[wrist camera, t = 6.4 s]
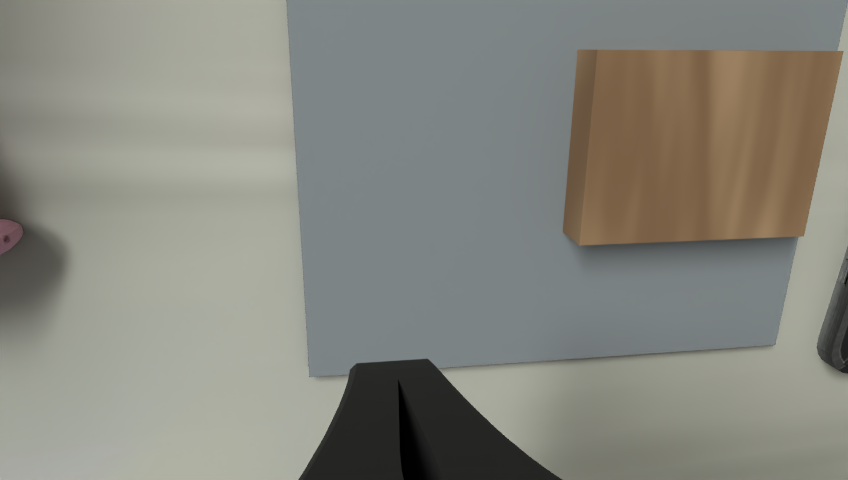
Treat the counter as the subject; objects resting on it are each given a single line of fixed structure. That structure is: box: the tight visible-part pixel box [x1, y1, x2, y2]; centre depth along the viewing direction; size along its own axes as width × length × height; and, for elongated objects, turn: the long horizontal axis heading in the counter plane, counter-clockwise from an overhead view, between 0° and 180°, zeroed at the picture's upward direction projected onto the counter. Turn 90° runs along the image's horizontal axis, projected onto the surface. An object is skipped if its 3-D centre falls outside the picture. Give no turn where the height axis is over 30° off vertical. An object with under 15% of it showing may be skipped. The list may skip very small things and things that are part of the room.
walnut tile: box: [563, 49, 843, 246], centre depth 19 cm, size 2×6×8 cm
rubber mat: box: [286, 0, 848, 377], centre depth 20 cm, size 18×16×1 cm
